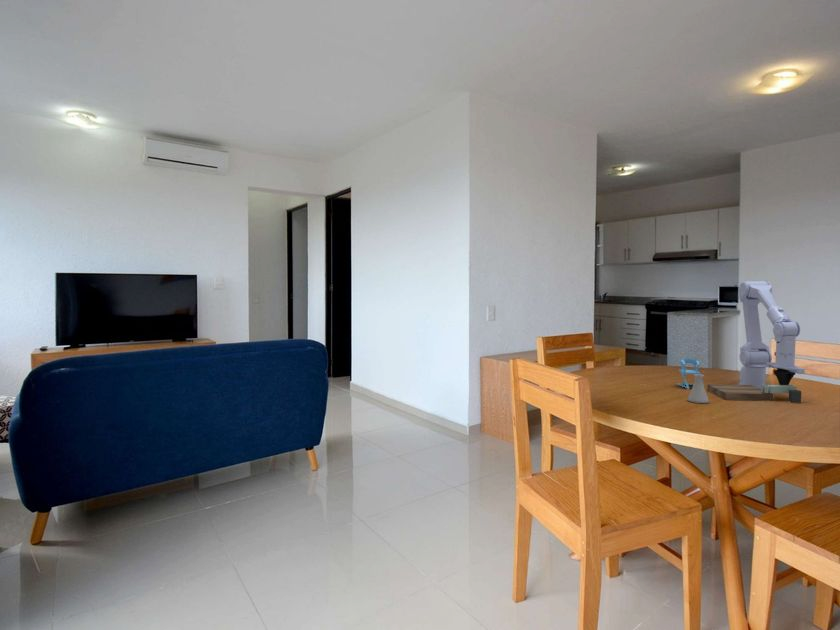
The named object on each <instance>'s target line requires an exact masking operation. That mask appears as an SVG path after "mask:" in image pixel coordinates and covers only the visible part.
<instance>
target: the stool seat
mask: <svg viewBox="0 0 840 630" xmlns="http://www.w3.org/2000/svg"><path fill="white" fill-rule="evenodd" d="M707 391H708V392H709V393H712V394H714V395H715V396H718V397H720V398H722V399H723V400H726V401H755V402H757V401H758V402H759V401H762V402H768V401H769V402H773V401H774V400H775V399H774V394H775V393H764V392H761V389H759V388H757V387H754V386H752V385H738V384H717V383H716V384H714V383H713V384H708V383H707Z"/></svg>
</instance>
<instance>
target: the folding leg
mask: <svg viewBox="0 0 840 630" xmlns="http://www.w3.org/2000/svg"><path fill="white" fill-rule="evenodd" d="M797 388H798V386H797V385H793V384H789V385H779V384H765V385H761V392H764V393H772V394H789V390H798V389H797Z"/></svg>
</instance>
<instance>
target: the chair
mask: <svg viewBox="0 0 840 630" xmlns="http://www.w3.org/2000/svg"><path fill="white" fill-rule="evenodd" d="M679 363H680V366H681V367H680V368H679V369H678V370H679V372H680V374H681V376H682V378H683V382H684V383H683V382H677V383H676V386H678V385H680V386H682V387H681V388H683V387H685V388H687V389H686V390H688V389H689V390H690V386H689V385H694V383H690V382H688V381H687V378H686V376H685V375H694V374H701V372H700V371H699V368H700V361H699V360H696V359H695V358H694V359H693V358H683V359H681V360H680V361H679ZM686 364H692V365H693V366H692V368H693V369H687V367H686ZM685 385H686V386H685ZM680 386H679V387H680ZM685 388H684V389H685Z"/></svg>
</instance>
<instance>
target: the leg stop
mask: <svg viewBox="0 0 840 630" xmlns="http://www.w3.org/2000/svg"><path fill="white" fill-rule="evenodd" d="M789 401H790V403H792V402H801V403H802V391H801V390H798V389H797V390H789V393H788V402H789Z"/></svg>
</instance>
